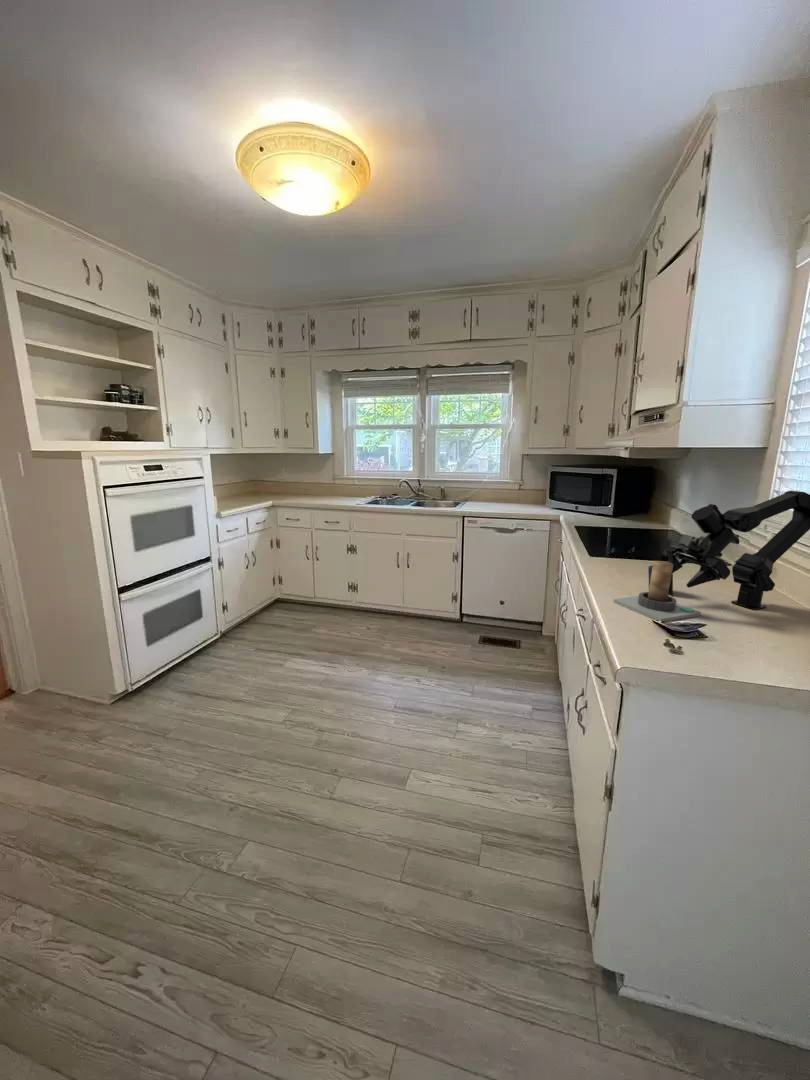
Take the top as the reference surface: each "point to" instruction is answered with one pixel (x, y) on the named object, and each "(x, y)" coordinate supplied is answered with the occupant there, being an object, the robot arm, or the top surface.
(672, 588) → the speaker
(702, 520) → the robot arm
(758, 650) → the top surface
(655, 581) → the plug
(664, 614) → the socket
